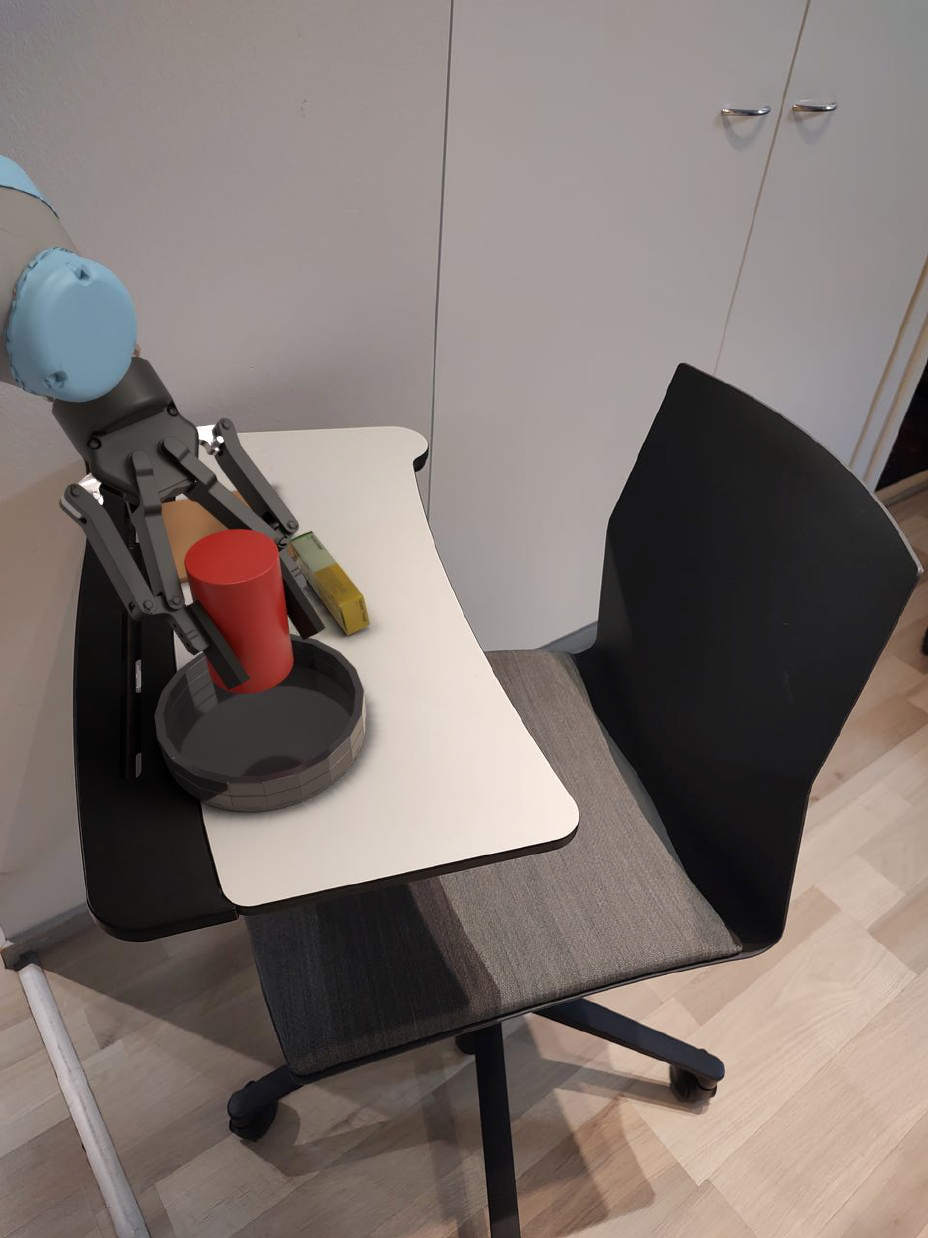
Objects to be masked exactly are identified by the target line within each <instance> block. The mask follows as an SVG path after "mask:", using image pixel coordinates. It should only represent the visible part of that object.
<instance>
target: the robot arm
mask: <svg viewBox="0 0 928 1238" xmlns="http://www.w3.org/2000/svg"><path fill="white" fill-rule="evenodd" d="M134 306H135V305H134V303H133V300H132V298H131V296H130V293H129V292H128V290H127V288H126V286H125V285H124V283H123V282H122V281H121V280H120V279H119V277H118V276H117V275H116V274H115V273H114V272H113V271H112V270H111V269H109V268H107V267H106V266H105V265H103V264H101V263H99V262H96V261H94V260H91V259H88V258H85V257H83V256H82V255H81V253H80V251H79V250H78V248H77V247H76V245H75V243H74V241H73V240H72V238H71V236H70V235H69V233H68V232H67V230H66V229H65V227H64V226H63V224H62V222H61V221H60V217H59V215H58V213H57V212H56V210H55V208H54V206H52V204H51V203H50V202H49V201H48V200H47V199H46V198H45V196H44V195H43V194H42V193H41V192H40V190H39V189H38V187H37V186H36V185H35V183H34V182H33V180H32V179H31V178H30V176H28V174H27V172H26V171H25V170H24V169H23V168H22V167H21V166H20V165H19V164H18V163H17V162H16V161H14V160H13V159H11V158H9V157H7V156H4V155H2V154H0V382H1V383H5V384H8V385H11V386H14V387H17V388H20V389H22V390H23V391H24V392H26V393H29V394H32V395H34V396H37V397H41V398H42V400H44V401H46V402H48V403H52V407H51V408H52V409H51V414H52V416H53V417H54V419H55V420H56V422H57V423H58V425H59V427H60V428H61V429H62V431H63V432H64V434H65V435H66V437H67V438H68V440H69V442H70V444H71V445H72V446H73V448H74V449H75V451H76V452H77V453H78V454H79V455H80V457H81V458H82V460H83V461H84V465H85V476H84V477H83V478H82V479H81V480H79V481H78V482H77V483H70V484H69V485H67V487H66V488H65V490H64V492H63V493H62V495H61V497H60V498H59V501H58V505H59V508H60V509H61V511H62V512H63V513H65V514H66V515H67V516H68V517H70V518H71V519H72V521H74V522H75V523H76V524H77V525H78V526H79V527H80V528H81V529H82V531H83V533H84V535H85V536H86V538H87V540H88V542H89V544H90V545H91V547H92V549H93V551H94V552H95V554H96V557H97V558H98V560H99V561H100V564H101V565H102V568H103V569H104V571H105V572H106V575H107V577H108V578H109V580H110V582H111V583H112V585H113V587H114V589H115V591H116V593H117V594H118V596H119V598H120V600H121V602H122V603H123V605H124V608H125V609H126V611H127V612H128V614H129V616H130V617H131V619H132V620H134V621H135V622H139V623H140V622H144V621H145V620H151V619H157V618H158V619H160V620H165V621H166V622H167V623H168V624H169V626H170V627H171V628H172V630H173V632H174V633H175V635H176V636H177V638H178V640H180V642H181V644H183V647H184V648H185V650H186V651H187V652H188V653H189V654H191V656H197V655H199V654H200V653H202V652H203V653H204V654H205V656H206V657H207V659H208V660H209V662H210V663H211V665H212V666H213V668H214V669H215V671H216V672H217V674H218V675H219V677H220V678H221V680H222V681H223V683H224V684H225V686H226V687H227V689H228V690H230V689H232V688H234V687H236V686H239V685H241V684H243V683H244V682H246V681H247V680H249V679H250V677H249V676H248V674H247V673H246V671H245V670H244V668H243V667H242V665H241V664H240V662H239V660H238V659H237V657H236V656H235V654H234V653H233V651H232V650H231V648H230V647H229V645H228V644H227V642H226V641H225V639H224V638H223V636H222V635H221V633H220V632H219V630H218V629H217V627H216V626H215V624H214V623H213V621H212V619H211V618H210V616H209V615H208V613H207V612H206V610H205V609H204V607H203V606H202V604H201V603H200V601H199V600H196V601H195V602H193V601H192V602H191V603H189V604H188V605H187V604H186V597H185V594H184V591H183V588H182V587H183V586H182V583H180V580H179V576H178V572H177V569H176V565H175V561H174V558H173V554H172V550H171V547H170V543H169V539H168V536H167V532H166V529H165V525H164V521H163V518H162V504H161V503H164V501H165V500H167V499H168V498H175V497H178V496H181V495H183V496H184V497H185V498H186V499H189V500H191V501H193V502H197V503H199V504H200V505H201V506H202V507H203V508H204V509H206V510H207V511H208V512H209V513H210V514H211V515H213V516H214V517H215V518H216V519H217V520H218V521H220V522H221V523H222V524H223V525H224V526H225V527H227V528H228V529H229V530H233V529H244V530H252V531H256V532H260V533H262V534H264V535H266V536H268V537H269V538H271V539H272V540H273V541H274V543H275V544H276V545H277V548H278V552H279V559H280V566H281V573H282V581H283V588H284V595H285V602H286V609H287V616H288V620H289V621H290V622H291V624H292V625H293V627H294V628H295V630H296V631H297V633H298V634H299V636H301V637H302V639H303V640H305V639H307V638H312V637H313V636H315V635H318V634H319V633H321V632H322V631H323V630H325V629H326V625H325V624H324V622H323V621H322V619H321V618H320V616H319V614H318V613H317V612H316V610H315V609H314V607H313V605H312V604H311V602H310V601H309V600H308V597H307V596H306V595H305V593H304V591H303V589H304V588H306V587H307V586H308V583H307V579H306V578H305V576H304V575H303V574H302V572H301V571H300V569H299V568H298V566H297V563H296V561H294V560H293V558H292V557H291V555H290V554H289V552H288V550H287V546H288V545H289V543H290V540H291V539H292V537H293V536H294V534H295V533H297V532H298V531H299V529H300V524H299V522H298V520H297V519H296V517H295V516H294V514H293V513H292V511H291V510H290V509H289V508H288V507H287V505H286V504H285V502H284V501H283V500H282V498H281V497H280V496H279V495H278V493H277V491H276V490H275V489H274V488H273V486H272V485H271V484H270V482H269V481H268V480H267V478H266V476H264V474H263V473H262V472H261V470H260V469H259V468H258V466H257V465H256V464H255V462H254V461H253V459H252V458H251V457H250V455H249V454H248V452H246V450H245V448H244V447H243V446H242V444H241V442H240V438H239V435H238V433H237V430H236V427H235V424H234V422H233V421H232V420H231V419H230V418H228V417H221V418H219V420H218V421H217V422H216V423H215V424H208V425H200V426H196V425H195V424H194V423H193V421H192V422H191V421H190V420H189V419H187V418H186V417H184V416H183V415H182V413H181V412H180V411H179V410H178V408H177V405H176V403H175V401H174V399H173V397H172V395H171V393H170V391H169V390H168V388H167V387H166V385H165V384H164V382H163V381H162V379H161V378H160V376H159V374H158V373H157V372H156V370H155V368H154V367H153V365H152V363H151V362H150V361H149V360H148V359H145V358H142V357H140V356H141V351H142V348H141V346H140V344H139V343H138V341H137V340H138V321H137V315H136V310H135V307H134ZM200 446H201V447H203V448H204V450H205V451H206V454H207V455H209V456H213V457H214V459H215V461H216V462H217V465H218V466H219V468H220V470H221V471H222V472H223V473H224V475H225V476H226V478H227V479H228V480H229V481H230V483H231V484H232V486H233V487H234V488H235V490H236V491H238V492H239V493H240V495H241V496H242V497H243V499H244V500H245V501H246V503H247V504H248V505H249V506H250V508H251V509H252V510H253V511H252V510H251V509H250V508H249V507H248V506H246V505H245V504H244V503H243V502H242V501H241V500H240V499H238V498H237V497H236V496H235V495H234V494H233V493H232V492H233V491H230V489H228V488H227V487H226V486H225V485H224V484H222V483H221V482H220V481H219V480H218V477H217V474H216V473H215V472H214V470H212V469H211V468H210V467H208V466H207V465H206V463H204V462H203V461H202V460H201V459H199V457H200V456H199V455H200ZM100 490H102V491H104V492H106V493H108V494H110V495H112V496H114V497H117V498H118V499H121V500H122V501H125V504H126V507H127V511H128V516H129V519H130V521H131V524H132V526H133V527H134V528H135V532H136V535H137V540H138V543H139V547H140V550H141V554H142V558H143V561H144V565H145V568H146V572H147V573H146V574H147V576H148V580H149V583H150V587H149V585H148V583H147V581H146V579H145V578H144V576H143V574H142V573H141V571H140V569H139V567H138V565H137V564H136V562H135V559H134V558H133V556H132V554H131V552H130V551H129V549H128V547H127V545H126V544H125V542H124V540H123V537H122V536H121V534H120V533H119V531H118V529H117V527H116V525H115V523H114V522H113V520H112V518H111V516H110V514H109V513H108V512H107V510H106V508H105V507H104V506H103V504H104V498H103V497H104V496H103V495H102V494H101V492H100Z"/></svg>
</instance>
